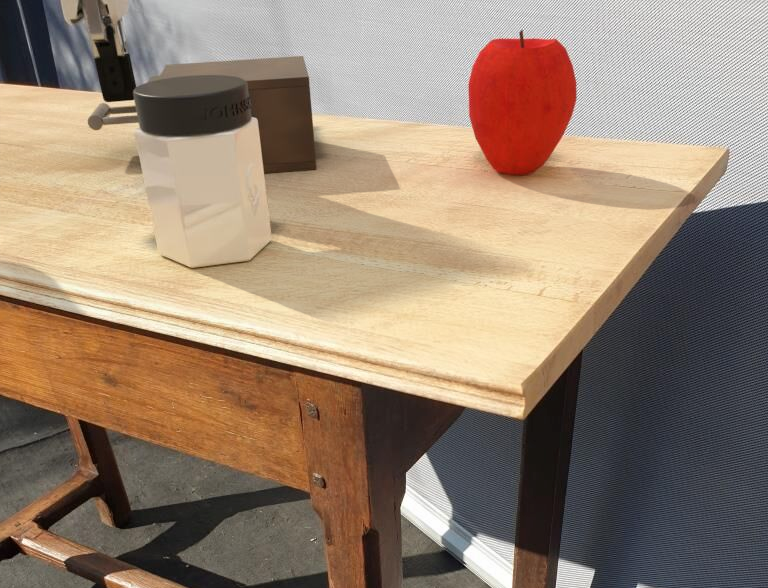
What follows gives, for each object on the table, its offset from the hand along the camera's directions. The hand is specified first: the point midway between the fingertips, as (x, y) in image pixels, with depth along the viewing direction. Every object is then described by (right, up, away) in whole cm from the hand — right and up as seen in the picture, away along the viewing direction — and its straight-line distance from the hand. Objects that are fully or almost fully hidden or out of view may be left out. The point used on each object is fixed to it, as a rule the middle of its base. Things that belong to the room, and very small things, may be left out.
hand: (121, 99), depth 84 cm
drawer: (+7, -4, +4) cm, 9 cm away
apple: (+40, -8, -3) cm, 41 cm away
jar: (+13, -20, -18) cm, 30 cm away
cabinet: (+12, -4, +5) cm, 13 cm away
